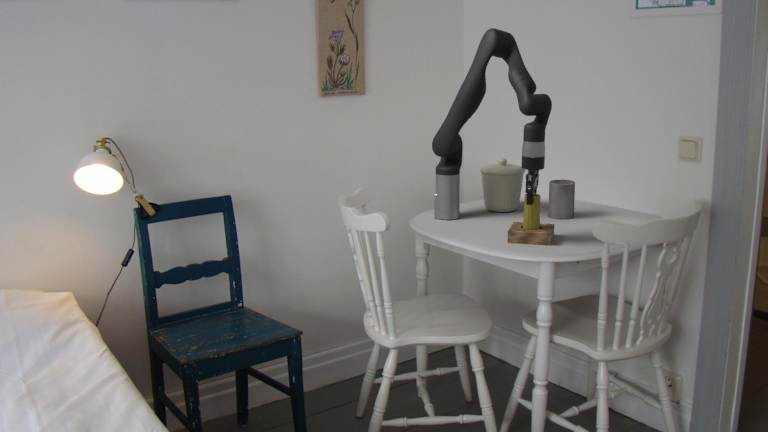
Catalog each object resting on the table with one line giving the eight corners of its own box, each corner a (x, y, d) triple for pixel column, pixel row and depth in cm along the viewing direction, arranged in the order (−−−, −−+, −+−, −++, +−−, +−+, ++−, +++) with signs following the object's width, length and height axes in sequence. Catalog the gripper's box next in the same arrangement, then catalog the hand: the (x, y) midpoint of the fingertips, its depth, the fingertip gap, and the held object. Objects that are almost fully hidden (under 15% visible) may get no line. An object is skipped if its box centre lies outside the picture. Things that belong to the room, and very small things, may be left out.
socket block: (507, 242, 247) (507, 231, 247) (513, 232, 260) (513, 221, 260) (550, 245, 243) (550, 233, 242) (553, 235, 256) (554, 224, 255)
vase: (540, 238, 248) (541, 196, 245) (521, 237, 249) (523, 196, 246) (540, 234, 254) (541, 193, 251) (522, 233, 255) (523, 193, 252)
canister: (533, 209, 297) (534, 157, 293) (505, 216, 285) (506, 162, 281) (497, 203, 310) (498, 153, 306) (469, 210, 298) (470, 158, 294)
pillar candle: (555, 212, 291) (556, 175, 287) (578, 215, 285) (579, 177, 281) (543, 217, 284) (544, 179, 280) (567, 220, 277) (568, 181, 274)
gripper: (524, 151, 253) (523, 197, 257) (519, 157, 240) (517, 205, 243) (547, 152, 251) (544, 198, 254) (542, 158, 237) (540, 207, 241)
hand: (531, 202), depth 249 cm, fingers open, 8 cm apart
